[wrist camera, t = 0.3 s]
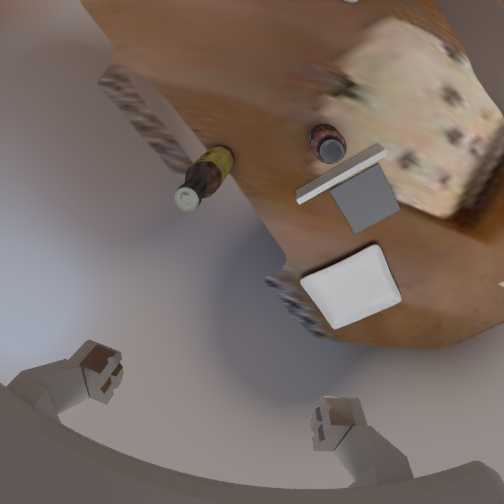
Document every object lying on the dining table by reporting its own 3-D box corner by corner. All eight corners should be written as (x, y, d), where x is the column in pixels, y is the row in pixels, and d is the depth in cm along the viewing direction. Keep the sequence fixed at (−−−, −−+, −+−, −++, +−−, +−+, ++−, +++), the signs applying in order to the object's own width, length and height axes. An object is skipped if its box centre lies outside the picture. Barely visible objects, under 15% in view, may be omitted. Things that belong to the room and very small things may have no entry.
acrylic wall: (377, 143, 48) (385, 149, 44) (380, 148, 49) (387, 154, 45) (296, 190, 57) (296, 199, 53) (299, 194, 57) (299, 204, 53)
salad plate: (375, 235, 60) (378, 243, 58) (399, 293, 69) (403, 302, 66) (297, 272, 69) (297, 281, 67) (333, 321, 78) (334, 330, 75)
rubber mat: (377, 162, 51) (378, 163, 50) (399, 208, 55) (400, 209, 55) (329, 190, 56) (329, 191, 55) (354, 232, 60) (355, 233, 60)
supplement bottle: (303, 143, 51) (306, 157, 42) (318, 117, 48) (324, 126, 39) (330, 157, 52) (338, 175, 43) (344, 133, 49) (356, 145, 39)
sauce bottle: (216, 138, 53) (179, 167, 37) (241, 155, 54) (216, 192, 38) (199, 163, 56) (160, 201, 40) (224, 179, 58) (194, 224, 42)
